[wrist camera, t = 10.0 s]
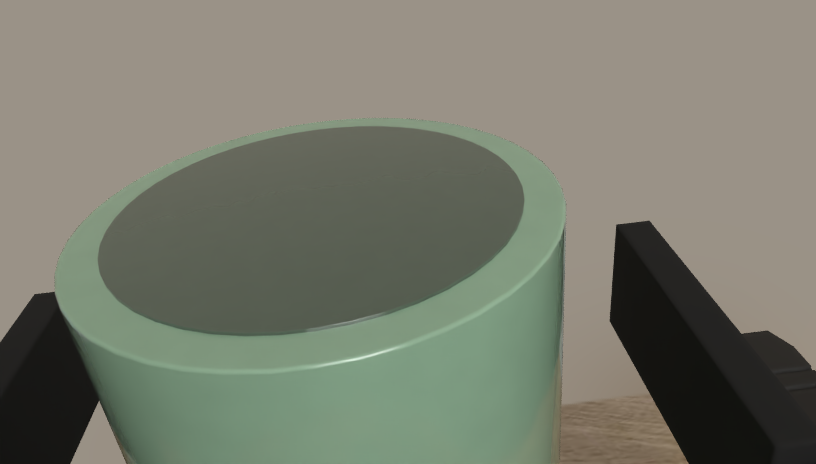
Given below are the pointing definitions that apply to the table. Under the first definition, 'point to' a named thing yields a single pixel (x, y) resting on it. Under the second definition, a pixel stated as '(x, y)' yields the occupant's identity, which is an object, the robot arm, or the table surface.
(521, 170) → the cup
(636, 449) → the table surface
